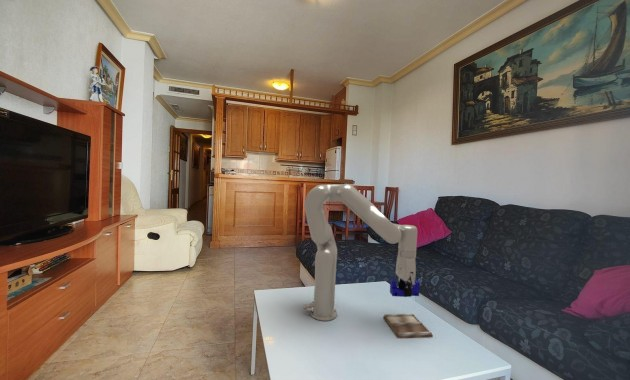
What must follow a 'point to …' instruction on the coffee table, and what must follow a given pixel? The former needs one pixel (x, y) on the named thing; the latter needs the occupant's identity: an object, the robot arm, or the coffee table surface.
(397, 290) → the cable clip
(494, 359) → the coffee table surface
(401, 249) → the robot arm
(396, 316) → the organizer board
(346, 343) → the coffee table surface
